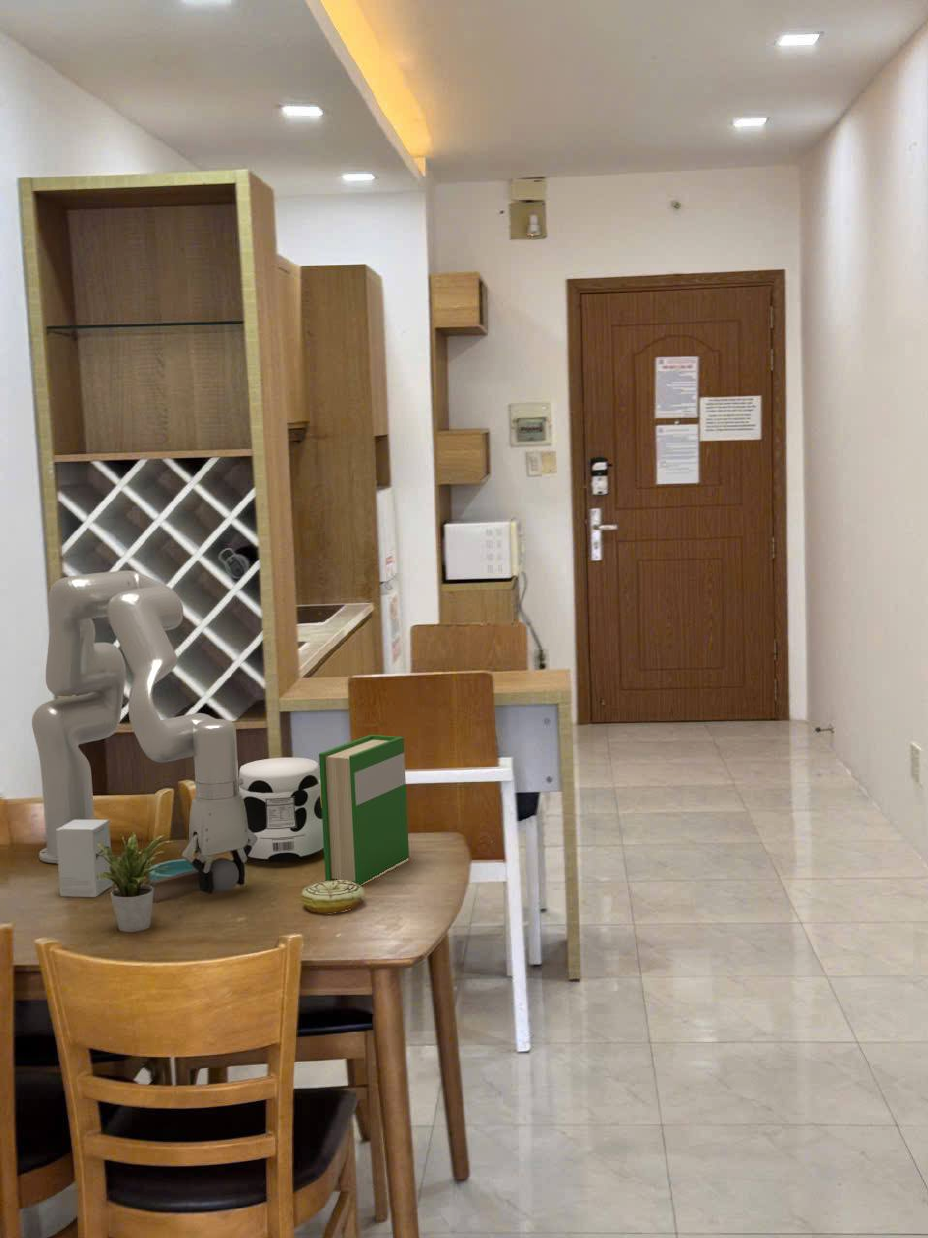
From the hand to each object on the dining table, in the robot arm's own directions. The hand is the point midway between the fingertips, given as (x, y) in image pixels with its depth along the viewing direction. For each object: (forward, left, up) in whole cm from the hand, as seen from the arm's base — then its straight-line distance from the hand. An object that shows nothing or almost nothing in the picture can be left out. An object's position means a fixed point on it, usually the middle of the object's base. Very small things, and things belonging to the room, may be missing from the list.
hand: (222, 887), depth 260 cm
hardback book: (+9, +26, -2) cm, 28 cm away
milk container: (-12, +22, -2) cm, 25 cm away
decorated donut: (+20, +9, -2) cm, 22 cm away
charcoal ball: (0, 0, +2) cm, 2 cm away
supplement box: (-22, -15, -2) cm, 26 cm away
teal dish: (-14, 0, -1) cm, 14 cm away
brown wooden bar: (-6, -3, -1) cm, 7 cm away
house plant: (+5, -20, -2) cm, 20 cm away
